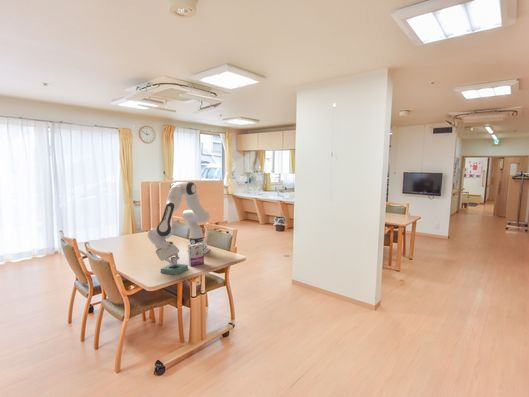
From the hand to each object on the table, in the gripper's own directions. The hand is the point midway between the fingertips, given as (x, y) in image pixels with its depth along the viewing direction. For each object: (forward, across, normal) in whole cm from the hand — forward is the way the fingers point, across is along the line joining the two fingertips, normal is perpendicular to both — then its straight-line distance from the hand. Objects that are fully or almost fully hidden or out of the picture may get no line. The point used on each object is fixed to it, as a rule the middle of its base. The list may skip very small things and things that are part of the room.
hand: (175, 260), depth 222 cm
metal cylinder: (+5, 0, +6) cm, 8 cm away
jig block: (+5, 0, +6) cm, 8 cm away
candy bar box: (+11, +18, 0) cm, 21 cm away
